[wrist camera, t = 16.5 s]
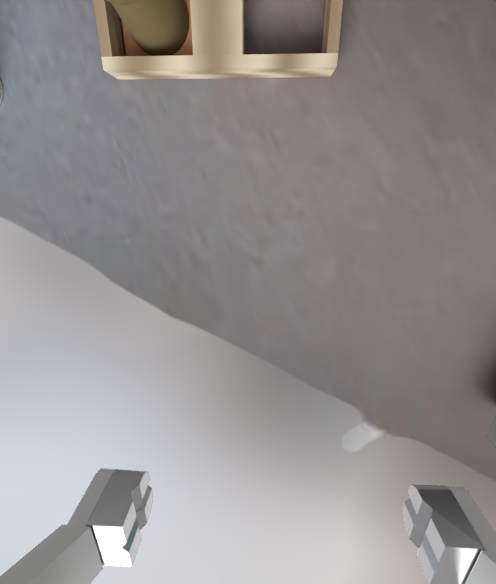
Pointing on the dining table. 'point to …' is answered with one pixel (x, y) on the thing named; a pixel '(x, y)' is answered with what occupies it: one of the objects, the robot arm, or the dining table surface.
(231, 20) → the socket rail
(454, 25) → the dining table surface
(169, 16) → the olive round-headed peg
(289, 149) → the dining table surface
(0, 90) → the spray can
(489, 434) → the grey lidded container
